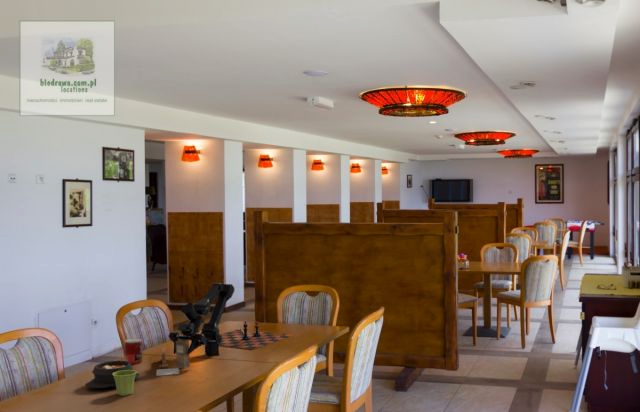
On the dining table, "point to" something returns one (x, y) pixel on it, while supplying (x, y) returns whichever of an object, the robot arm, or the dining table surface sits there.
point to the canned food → (133, 350)
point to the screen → (164, 359)
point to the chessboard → (249, 338)
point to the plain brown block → (182, 354)
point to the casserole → (108, 373)
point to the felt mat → (167, 371)
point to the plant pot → (124, 381)
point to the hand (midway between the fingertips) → (180, 353)
